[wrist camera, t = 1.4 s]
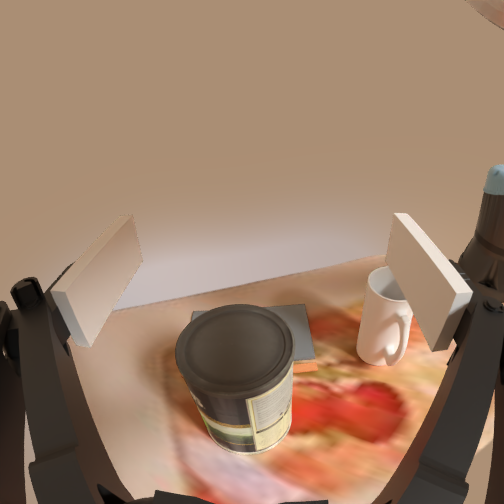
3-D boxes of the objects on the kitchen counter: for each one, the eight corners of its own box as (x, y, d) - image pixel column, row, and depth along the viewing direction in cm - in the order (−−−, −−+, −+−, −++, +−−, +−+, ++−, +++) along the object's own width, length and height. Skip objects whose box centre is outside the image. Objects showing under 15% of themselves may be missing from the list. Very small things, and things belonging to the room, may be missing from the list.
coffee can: (211, 462, 28) (176, 403, 20) (202, 391, 36) (174, 313, 29) (302, 444, 29) (311, 377, 21) (281, 377, 38) (278, 295, 30)
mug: (350, 334, 43) (361, 267, 36) (392, 330, 42) (409, 264, 36) (363, 390, 34) (383, 325, 28) (410, 383, 33) (440, 318, 27)
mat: (304, 305, 49) (304, 303, 49) (315, 358, 40) (315, 356, 39) (193, 313, 50) (193, 310, 49) (184, 365, 40) (183, 363, 40)
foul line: (315, 363, 39) (316, 362, 39) (317, 370, 38) (317, 369, 38) (183, 370, 39) (182, 369, 39) (182, 377, 38) (181, 376, 38)
